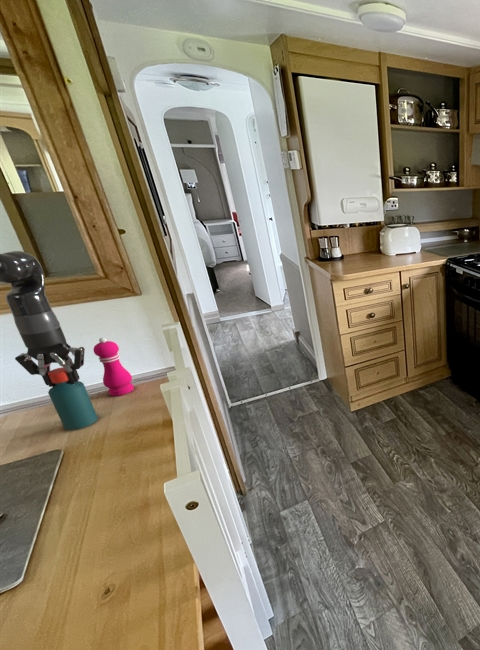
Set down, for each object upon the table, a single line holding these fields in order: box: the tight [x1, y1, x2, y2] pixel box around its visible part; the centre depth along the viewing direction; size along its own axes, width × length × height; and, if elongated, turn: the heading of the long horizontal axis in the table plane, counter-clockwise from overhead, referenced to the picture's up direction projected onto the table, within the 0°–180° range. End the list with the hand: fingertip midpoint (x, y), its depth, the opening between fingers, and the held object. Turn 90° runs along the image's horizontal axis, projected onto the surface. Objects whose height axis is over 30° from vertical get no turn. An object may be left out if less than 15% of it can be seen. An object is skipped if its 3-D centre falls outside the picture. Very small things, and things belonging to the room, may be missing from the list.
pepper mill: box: [93, 337, 135, 397], centre depth 125 cm, size 7×7×20 cm
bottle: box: [47, 380, 99, 431], centre depth 109 cm, size 7×7×17 cm
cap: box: [48, 366, 69, 383], centre depth 106 cm, size 4×4×3 cm
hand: (64, 383), depth 107 cm, fingers closed on cap, 4 cm apart
